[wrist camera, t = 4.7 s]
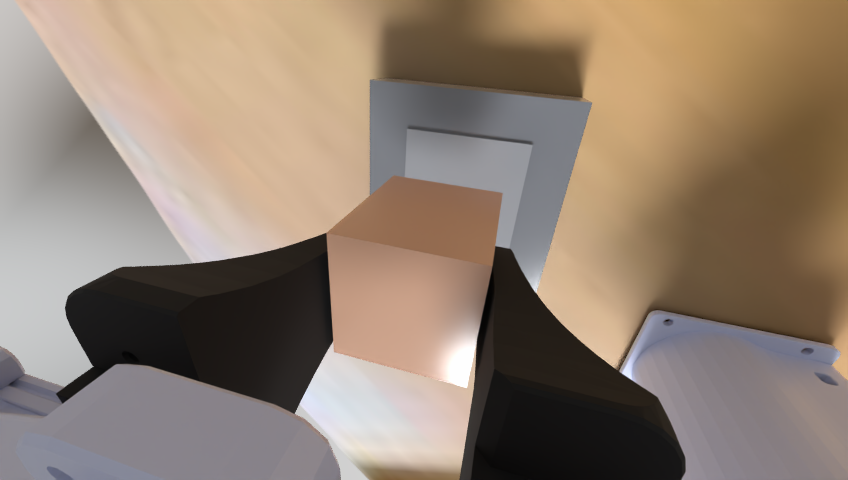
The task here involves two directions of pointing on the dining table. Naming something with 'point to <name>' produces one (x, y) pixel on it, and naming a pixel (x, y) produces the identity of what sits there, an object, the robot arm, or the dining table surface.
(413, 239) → the terracotta block
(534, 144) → the slate plinth
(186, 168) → the dining table surface
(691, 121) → the dining table surface
